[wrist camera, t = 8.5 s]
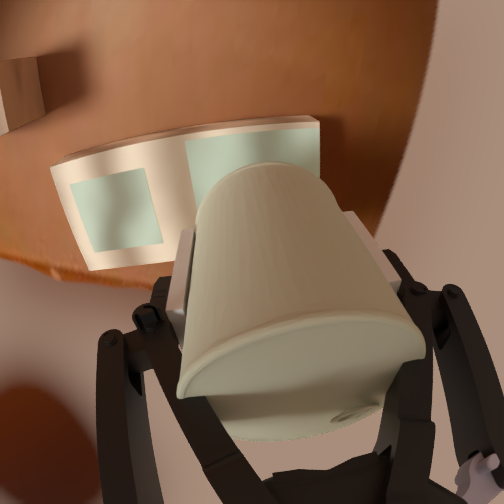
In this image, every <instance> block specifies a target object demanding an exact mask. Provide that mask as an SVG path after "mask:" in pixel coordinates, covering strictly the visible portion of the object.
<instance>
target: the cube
mask: <svg viewBox="0 0 504 504" xmlns="http://www.w3.org/2000/svg"><path fill="white" fill-rule="evenodd" d="M44 115H46V112H45V107H44V102H43V97H42V91H41V86H40V80H39V73H38V66H37V58H36V57H29V58H20V59H12V60H5V61H0V136H2V135H4V134H6V133H7V132H9V131H11V130H13V129H16V128H18V127H20V126H22V125H24V124H26V123H28V122H30V121H33V120H35V119H37V118H39V117H42V116H44Z"/></svg>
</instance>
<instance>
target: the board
mask: <svg viewBox="0 0 504 504" xmlns="http://www.w3.org/2000/svg"><path fill="white" fill-rule="evenodd" d="M271 161H274V162H285V163H290V164H294V165H297V166H300V167H302V168H305V169H307V170H309V171H310V172H312V173H313V174H315V175H316V176H318V177H319V178H320V122H319V121H318V120H316V119H315V118H313V117H311V116H310V115H298V116H279V117H265V118H254V119H243V120H234V121H225V122H218V123H210V124H203V125H197V126H190V127H184V128H178V129H173V130H167V131H162V132H157V133H152V134H147V135H142V136H138V137H133V138H129V139H125V140H121V141H116V142H112V143H109V144H105V145H101V146H97V147H94V148H90V149H87V150H83V151H80V152H76V153H73V154H70V155H67V156H64V157H63V158H62V159H60V160H59V161H57V162H56V163H55V164H53V165H52V166H51V167H50V170H51V173H52V176H53V180H54V183H55V186H56V189H57V192H58V195H59V197H60V200H61V203H62V206H63V208H64V211H65V214H66V216H67V219H68V222H69V224H70V227H71V229H72V232H73V234H74V236H75V239H76V241H77V244H78V246H79V248H80V251H81V253H82V255H83V257H84V260H85V262H86V264H87V266H88V268H89V270H90V271H93V270H101V269H109V268H118V267H126V266H135V265H143V264H152V263H160V262H168V261H175V258H176V253H177V249H178V244H179V239H180V235H181V230H183V229H191V228H194V230H195V221H196V216H197V212H198V209H199V207H200V204H201V202H202V201H203V199H204V197H205V196H206V194H207V193H208V192H209V190H210V189H211V188H212V187H213V186H214V185H215V184H216V183H217V182H218V181H219V180H221V179H222V178H223V177H225V176H226V175H228V174H229V173H231V172H233V171H234V170H236V169H239V168H241V167H244V166H247V165H250V164H254V163H260V162H271Z"/></svg>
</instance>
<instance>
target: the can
mask: <svg viewBox="0 0 504 504" xmlns="http://www.w3.org/2000/svg"><path fill="white" fill-rule="evenodd" d="M195 235H196V241H195V249H194V257H193V266H192V275H191V282H190V290H189V298H188V307H187V316H186V325H185V335H184V345H183V353H182V362H181V371H180V378H179V382H178V385H177V392H176V394H177V398H179V399H184V398H187V397H195V396H205V397H206V398H207V400H208V402H209V403H210V405H211V407H212V408H213V410H214V412H215V413H216V415H217V417H218V418H219V420H220V421H221V423H222V425H223V426H224V428H225V429H226V431H227V432H228V434H229V436H230V437H231V438H233V439H239V440H247V441H285V440H293V439H301V438H307V437H311V436H316V435H320V434H324V433H327V432H330V431H334V430H337V429H340V428H343V427H345V426H348V425H350V424H353V423H355V422H357V421H359V420H361V419H364V418H365V417H367V416H369V415H371V414H373V413H375V412H376V411H378V410H380V409H381V408H383V407H384V400H385V394H386V392H387V390H388V389H389V387H390V385H391V383H392V382H393V380H394V378H395V376H396V375H397V373H398V371H399V369H400V367H401V365H402V364H403V362H407V361H411V360H416V359H424V358H425V354H426V344H425V340H424V337H423V335H422V333H421V331H420V330H419V328H418V327H417V326H416V325H415V324H414V323H413V321H412V319H411V318H410V316H409V314H408V313H407V311H406V310H405V308H404V306H403V305H402V303H401V302H400V300H399V298H398V297H397V295H396V293H395V292H394V290H393V288H392V287H391V285H390V284H389V282H388V280H387V279H386V277H385V276H384V274H383V273H382V271H381V269H380V268H379V266H378V265H377V263H376V261H375V260H374V258H373V257H372V255H371V254H370V252H369V251H368V249H367V248H366V246H365V245H364V243H363V242H362V240H361V239H360V237H359V236H358V234H357V233H356V231H355V230H354V228H353V227H352V225H351V224H350V222H349V221H348V219H347V218H346V216H345V215H344V213H343V212H342V211H341V209H340V208H339V206H338V204H337V202H336V199H335V197H334V195H333V193H332V192H331V190H330V189H329V187H328V186H327V185H326V184H325V183H324V182H323V181H322V180H321V179H320V178H319V177H318V176H316V175H315V174H313V173H312V172H310V171H309V170H307V169H305V168H302V167H300V166H297V165H294V164H290V163H285V162H274V161H271V162H260V163H254V164H250V165H247V166H244V167H241V168H239V169H236V170H234V171H233V172H231V173H229V174H228V175H226V176H225V177H223V178H222V179H221V180H219V181H218V182H217V183H216V184H215V185H214V186H213V187H212V188H211V189H210V190H209V192H208V193H207V194H206V196H205V197H204V199H203V201H202V202H201V204H200V207H199V209H198V212H197V216H196V221H195Z"/></svg>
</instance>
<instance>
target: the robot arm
mask: <svg viewBox="0 0 504 504" xmlns="http://www.w3.org/2000/svg"><path fill="white" fill-rule="evenodd" d="M343 213H344V215H345V216H346V218H347V219H348V221H349V222H350V224H351V225H352V227H353V228H354V230H355V231H356V233H357V234H358V236H359V237H360V239H361V240H362V242H363V243H364V245H365V246H366V248H367V249H368V251H369V252H370V254H371V255H372V257H373V258H374V260H375V261H376V263H377V265H378V266H379V268H380V269H381V271H382V273H383V274H384V276H385V277H386V279H387V280H388V282H389V284H390V285H391V287H392V288H393V290H394V292H395V293H396V295H397V297H398V298H399V300H400V302H401V303H402V305H403V306H404V308H405V310H406V311H407V313H408V314H409V316H410V318H411V319H412V321H413V323H414V324H415V325H416V326H417V327H418V328H419V330H420V331H421V333H422V335H423V337H424V340H425V344H426V354H425V358H424V359H416V360H411V361H407V362H403V364H402V365H401V367H400V369H399V371H398V373H397V375H396V376H395V378H394V380H393V382H392V383H391V385H390V387H389V389H388V390H387V392H386V394H385V400H384V407H383V413H382V418H381V424H380V429H379V434H378V439H377V442H376V444H375V447H374V449H373V451H372V453H368V454H365V455H361V456H358V457H354V458H351V459H349V460H347V461H345V462H344V463H342V464H339V465H338V466H335V467H334V468H331V469H329V470H305V469H297V470H290V471H284V472H275V473H273V477H271V478H268V479H265V480H263V481H261V479H260V478H259V477H258V475H257V474H256V472H255V471H254V470H253V468H252V467H251V465H250V464H249V463H248V461H247V460H246V458H245V457H244V455H243V454H242V453H241V451H240V450H239V449H238V448H237V446H236V445H235V443H234V442H233V440H232V439H231V437H230V436H229V434H228V432H227V431H226V429H225V428H224V426H223V425H222V423H221V421H220V420H219V418H218V417H217V415H216V413H215V412H214V410H213V408H212V407H211V405H210V403H209V402H208V400H207V398H206V397H205V396H195V397H187V398H184V399H179V398H177V394H176V392H177V385H178V382H179V378H180V371H181V362H182V353H181V351H180V350H179V348H178V345H179V344H180V347H181V349H183V345H184V335H185V325H186V316H187V307H188V298H189V290H190V282H191V275H192V266H193V257H194V249H195V241H196V235H195V230H194V228H191V229H183V230H181V235H180V239H179V244H178V249H177V253H176V258H175V263H174V268H173V273H172V276H166V277H159V279H158V280H157V281H156V282H155V284H154V287H153V292H152V295H151V300H150V303H146V304H142V305H140V306H139V307H137V308H136V310H134V312H133V314H132V319H133V322H134V323H135V325H136V327H137V330H134V331H132V332H129V333H126V334H122V332H121V331H119V330H117V329H112V330H108V331H106V332H105V333H103V334H102V335H101V337H100V338H99V341H98V353H97V372H96V429H97V448H98V460H99V461H98V462H99V472H100V481H101V489H102V497H103V503H104V504H164V501H163V497H162V492H161V487H160V483H159V478H158V474H157V468H156V463H155V457H154V451H153V445H152V439H151V433H150V426H149V419H148V411H147V403H146V394H145V384H144V375H143V374H144V373H143V371H146V370H149V369H154V371H155V373H156V376H157V378H158V380H159V383H160V385H161V387H162V389H163V392H164V394H165V396H166V398H167V400H168V402H169V405H170V406H171V409H172V411H173V413H174V415H175V417H176V419H177V421H178V423H179V425H180V427H181V429H182V431H183V433H184V435H185V436H186V438H187V440H188V442H189V444H190V446H191V448H192V449H193V451H194V453H195V455H196V457H197V459H198V460H199V462H200V464H201V466H202V469H203V472H204V474H205V475H206V477H207V479H208V481H209V482H210V484H211V486H212V487H213V489H214V490H215V492H216V493H217V495H218V496H219V498H220V500H221V501H222V503H223V504H488V503H489V502H490V501H491V500H492V499H494V498H495V497H496V496H497V495H498V494H499V493H500V492H501V491H503V490H504V396H503V392H502V389H501V385H500V382H499V379H498V376H497V373H496V370H495V367H494V364H493V361H492V358H491V356H490V353H489V350H488V347H487V345H486V342H485V340H484V337H483V335H482V332H481V330H480V328H479V325H478V323H477V320H476V318H475V316H474V314H473V311H472V309H471V307H470V305H469V303H468V301H467V298H466V296H465V294H464V293H463V291H462V289H461V288H459V287H458V286H456V285H453V284H447V285H445V286H443V289H442V291H430V290H428V288H427V287H426V286H425V285H424V284H422V283H420V282H417V281H414V279H413V278H412V276H411V275H410V273H409V272H408V270H407V269H406V268H405V266H404V265H403V263H402V262H401V261H400V259H399V258H398V256H397V255H396V254H395V253H394V252H392V251H391V250H389V249H387V250H381V249H380V247H379V246H378V244H377V243H376V242H375V240H374V239H373V237H372V236H371V235H370V233H369V232H368V230H367V229H366V228H365V226H364V225H363V224H362V222H361V221H360V220H359V218H358V217H357V216H356V214H355V213H354V212H353V211H346V212H343ZM433 348H434V352H435V356H436V359H437V363H438V367H439V371H440V375H441V379H442V383H443V388H444V392H445V397H446V401H447V406H448V412H449V417H450V423H451V428H452V434H453V441H454V448H455V453H456V457H457V461H458V464H459V467H460V468H459V470H458V473H457V475H456V477H455V484H456V485H458V489H457V492H456V494H454V493H452V492H451V491H449V490H447V489H446V488H444V487H442V486H441V485H439V484H437V483H435V482H434V481H432V480H431V479H429V475H430V470H431V463H432V456H433V448H434V440H435V423H434V422H432V421H431V406H432V388H433V387H432V386H433Z"/></svg>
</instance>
